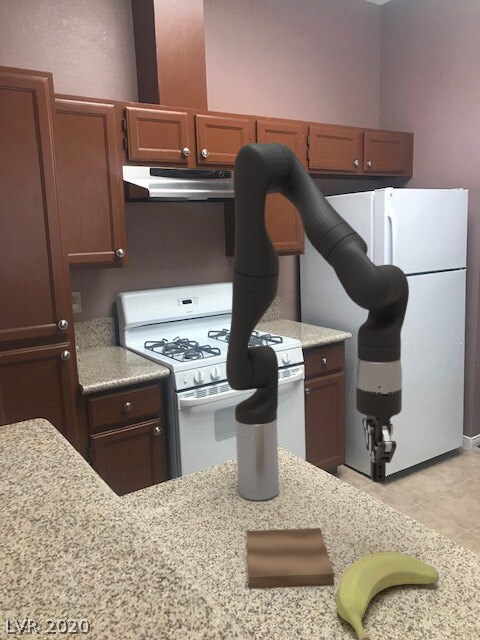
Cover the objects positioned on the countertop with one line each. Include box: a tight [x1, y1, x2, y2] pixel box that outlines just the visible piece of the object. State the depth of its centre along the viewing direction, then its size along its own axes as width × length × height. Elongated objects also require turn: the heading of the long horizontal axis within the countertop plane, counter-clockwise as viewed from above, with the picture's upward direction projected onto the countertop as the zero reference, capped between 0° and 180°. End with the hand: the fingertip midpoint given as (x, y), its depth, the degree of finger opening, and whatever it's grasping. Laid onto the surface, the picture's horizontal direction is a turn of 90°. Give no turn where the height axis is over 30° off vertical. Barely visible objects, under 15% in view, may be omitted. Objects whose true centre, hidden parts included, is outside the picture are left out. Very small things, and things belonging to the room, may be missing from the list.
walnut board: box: [246, 527, 335, 589], centre depth 93 cm, size 14×14×2 cm
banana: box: [335, 551, 440, 640], centre depth 80 cm, size 14×6×20 cm
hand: (377, 480), depth 91 cm, fingers closed
